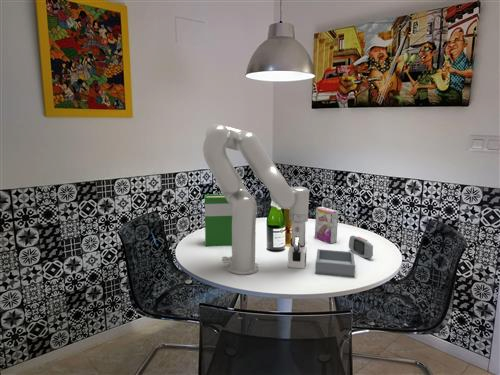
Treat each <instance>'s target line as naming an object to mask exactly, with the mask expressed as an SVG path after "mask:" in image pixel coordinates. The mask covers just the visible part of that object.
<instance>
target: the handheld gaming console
mask: <svg viewBox="0 0 500 375" xmlns="http://www.w3.org/2000/svg"><path fill="white" fill-rule="evenodd" d="M348 248H349V250H351V252H353V254H355V255H356V256H359V257H361V258H364V259H365V258H366V259H371V258H372V257H373V256H374V245H373V244H372V242H371V243H370V242H369V241H368V239H365V238H364V237H361V236H355V235H351V236H350V237H349V241H348Z"/></svg>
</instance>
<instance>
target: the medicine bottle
mask: <svg viewBox="0 0 500 375" xmlns="http://www.w3.org/2000/svg"><path fill="white" fill-rule="evenodd" d="M298 245H300V243H298ZM293 247H294V245H292V237H291V238H290V246H289V248H288V252H287V267H288V268H294V269H306V264H307V251H308V250H307V246H306V242H305V243H304V246H302V245H301V246H300V252H301V259H300V262H298V261H293ZM298 247H299V246H298Z"/></svg>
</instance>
